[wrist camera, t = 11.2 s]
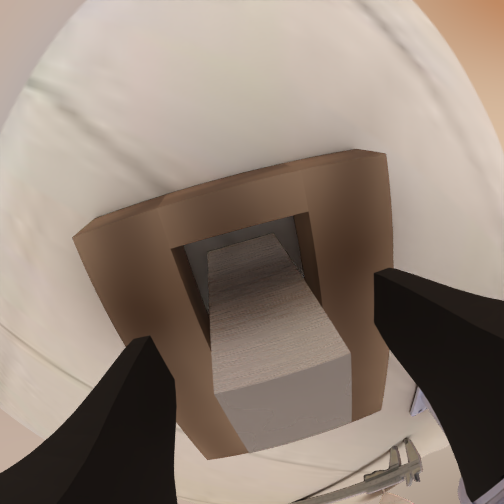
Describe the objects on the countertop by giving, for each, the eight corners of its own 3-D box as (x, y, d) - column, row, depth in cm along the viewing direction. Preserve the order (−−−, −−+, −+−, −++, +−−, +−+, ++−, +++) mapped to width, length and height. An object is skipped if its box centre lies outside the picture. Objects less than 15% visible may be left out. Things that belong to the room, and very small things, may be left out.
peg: (273, 232, 13) (350, 352, 6) (285, 289, 14) (351, 422, 7) (207, 251, 13) (214, 394, 6) (226, 306, 14) (249, 453, 7)
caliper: (405, 434, 25) (428, 474, 19) (408, 436, 25) (431, 474, 19) (275, 507, 28) (284, 542, 23) (280, 507, 29) (289, 542, 23)
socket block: (355, 148, 12) (386, 153, 10) (366, 385, 18) (381, 410, 16) (94, 218, 12) (72, 237, 9) (205, 431, 18) (207, 460, 16)
